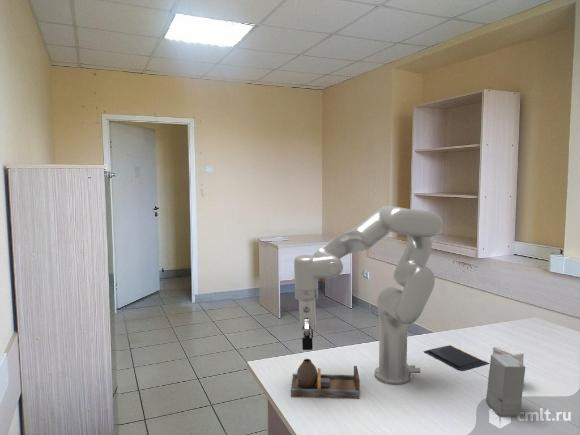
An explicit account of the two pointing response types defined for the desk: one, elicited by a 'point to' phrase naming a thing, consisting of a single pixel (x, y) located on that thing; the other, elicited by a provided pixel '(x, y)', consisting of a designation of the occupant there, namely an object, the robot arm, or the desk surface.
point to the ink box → (508, 352)
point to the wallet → (456, 358)
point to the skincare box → (505, 384)
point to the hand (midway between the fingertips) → (307, 343)
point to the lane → (338, 387)
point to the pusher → (322, 380)
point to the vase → (307, 374)
